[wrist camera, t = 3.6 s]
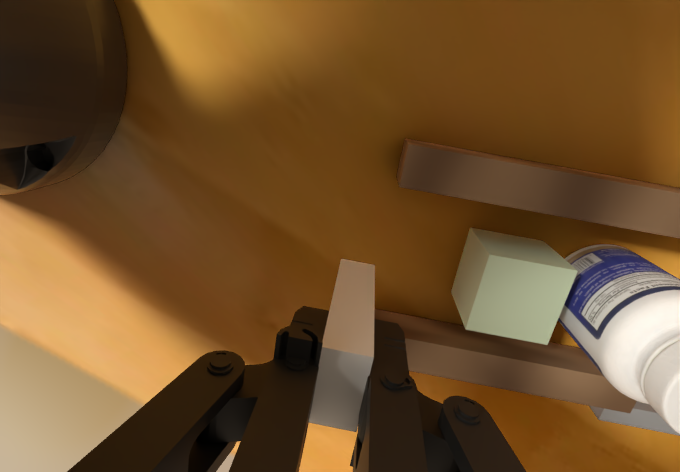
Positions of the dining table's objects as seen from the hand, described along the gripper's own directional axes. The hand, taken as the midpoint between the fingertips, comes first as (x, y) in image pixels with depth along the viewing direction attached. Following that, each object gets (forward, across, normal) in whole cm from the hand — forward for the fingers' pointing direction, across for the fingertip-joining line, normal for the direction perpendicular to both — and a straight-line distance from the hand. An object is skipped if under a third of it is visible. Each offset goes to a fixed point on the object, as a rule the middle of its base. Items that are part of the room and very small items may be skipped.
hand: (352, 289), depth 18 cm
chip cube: (+5, +8, 0) cm, 9 cm away
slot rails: (+5, +9, 0) cm, 10 cm away
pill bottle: (+6, +13, 0) cm, 14 cm away
